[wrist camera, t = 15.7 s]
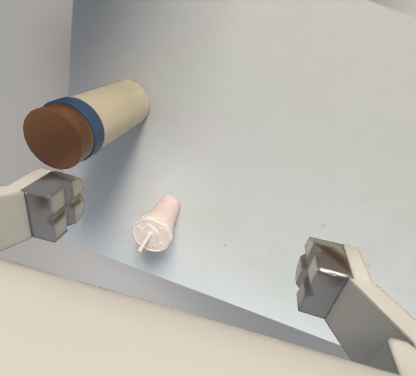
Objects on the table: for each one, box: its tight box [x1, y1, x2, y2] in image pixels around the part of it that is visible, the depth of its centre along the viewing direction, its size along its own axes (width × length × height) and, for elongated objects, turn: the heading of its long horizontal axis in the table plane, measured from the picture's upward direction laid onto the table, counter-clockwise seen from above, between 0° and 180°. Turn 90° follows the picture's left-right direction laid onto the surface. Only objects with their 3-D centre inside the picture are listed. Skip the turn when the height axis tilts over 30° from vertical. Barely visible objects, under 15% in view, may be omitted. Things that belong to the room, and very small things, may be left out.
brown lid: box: [23, 103, 94, 169], centre depth 31 cm, size 7×7×2 cm
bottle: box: [43, 80, 150, 161], centre depth 39 cm, size 7×7×16 cm
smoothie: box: [132, 196, 180, 253], centre depth 47 cm, size 6×6×14 cm
